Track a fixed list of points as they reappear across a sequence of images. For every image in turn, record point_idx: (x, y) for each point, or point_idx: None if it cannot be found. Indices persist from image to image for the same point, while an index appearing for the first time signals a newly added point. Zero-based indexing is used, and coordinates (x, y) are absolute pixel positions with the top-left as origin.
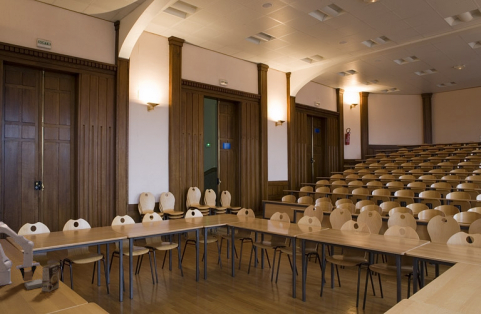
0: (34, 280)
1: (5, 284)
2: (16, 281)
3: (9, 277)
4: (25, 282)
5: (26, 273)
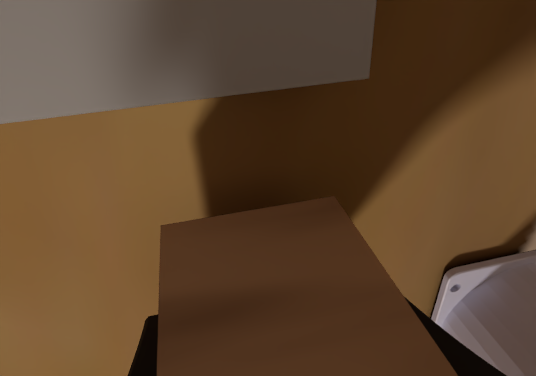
0: (90, 70)
1: (522, 253)
2: None
3: (533, 363)
4: (367, 10)
5: (385, 373)
